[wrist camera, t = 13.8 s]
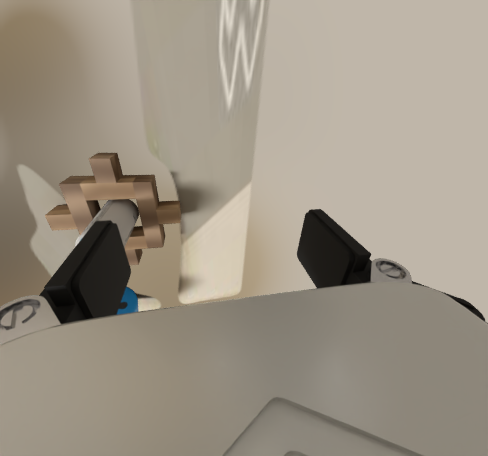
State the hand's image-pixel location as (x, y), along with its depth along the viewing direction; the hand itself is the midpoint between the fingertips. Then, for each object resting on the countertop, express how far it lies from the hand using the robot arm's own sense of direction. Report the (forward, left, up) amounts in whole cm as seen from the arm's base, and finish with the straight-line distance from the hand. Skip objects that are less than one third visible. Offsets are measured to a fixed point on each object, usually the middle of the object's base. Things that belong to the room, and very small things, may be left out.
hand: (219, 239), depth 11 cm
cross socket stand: (+14, -16, -33) cm, 40 cm away
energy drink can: (+14, -16, -34) cm, 40 cm away
